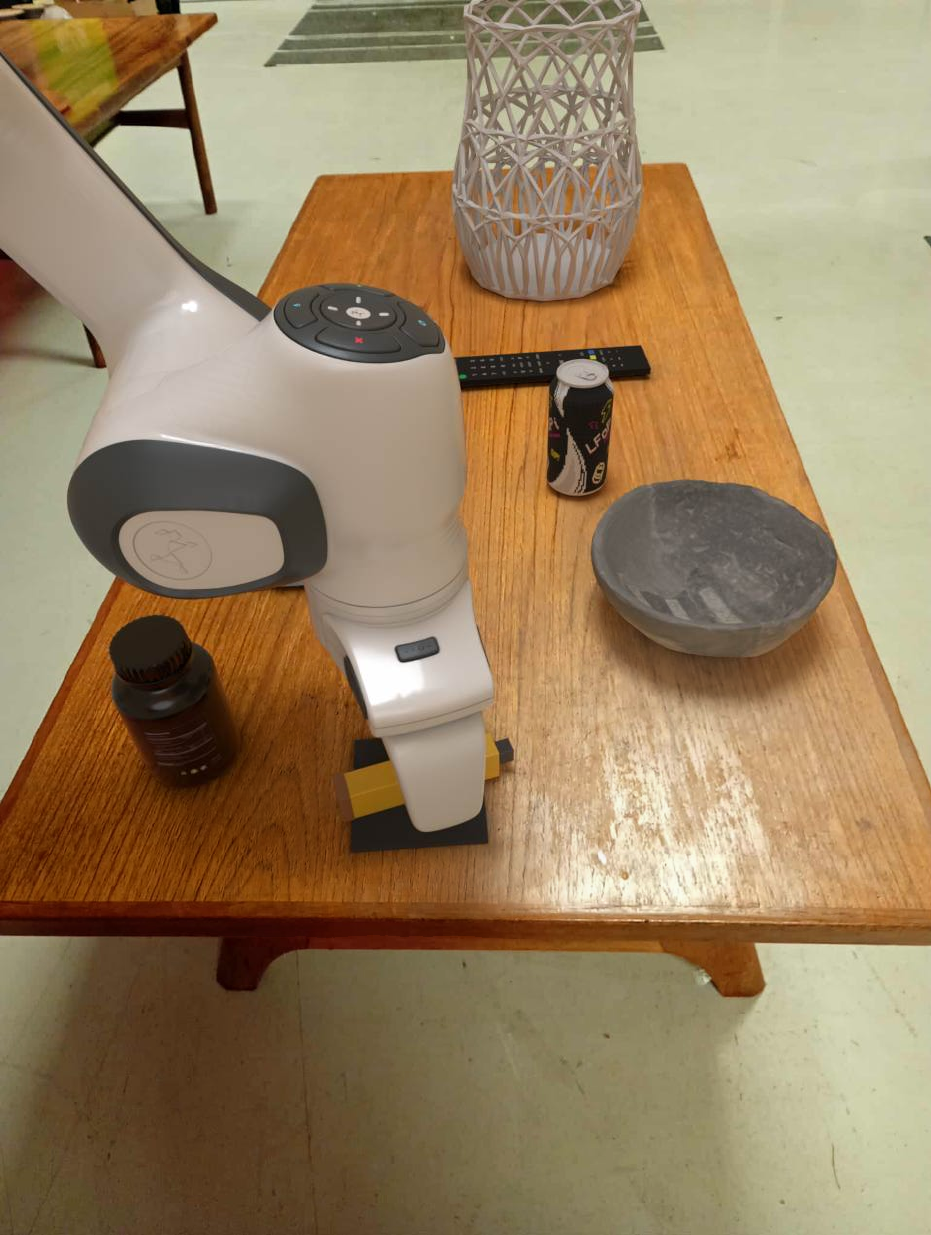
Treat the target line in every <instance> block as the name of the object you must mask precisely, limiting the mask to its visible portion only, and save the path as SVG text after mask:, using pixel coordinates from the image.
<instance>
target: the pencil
mask: <svg viewBox="0 0 931 1235" xmlns="http://www.w3.org/2000/svg"><path fill="white" fill-rule="evenodd" d="M485 734H486V766H485V781H487V780H490V779H494V778H496V777H500V765H503V764H506V763H510V762H514V760H515V749H514V747H513V745H512V743H511V741H510V739H509V737H507V738H506V737H505V738H502V739H499V740H496V741H495V740H494V739H493V736H492V734H491V732H485ZM331 779H332V784H333V788H334V792H335V796H336V800H337V804H338V807H339V811H340V812H339V813H340V815H341V819H342V822H343V823H347V822H352V820H355V818H358V817H362V816H365V815H368V814H372V813H375V812H379V811H382V810H385V809H389V808H392V807H395V806H399V805H402V804H405V803H404V800H403V797H402V794H401V791H400V788H399V785H398V782H397V779H396V776H395V773H394V770H393V767H392V764H391V761H390V760H389V761H386V762H382V763H379V764H375V765H372V766H368V767H365V768H361V769H358V770H354V771H353V770H350V771H347V772H343V771H341V772H338V773H334V774H331Z"/></svg>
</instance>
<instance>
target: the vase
mask: <svg viewBox="0 0 931 1235" xmlns="http://www.w3.org/2000/svg"><path fill="white" fill-rule="evenodd" d="M541 1H542V2H544V3H548V4H549V5H548V6H547V7H546V8H544V10H542V11H541V12H540V13H539V14H538V15H537V16H536V17H535V18H533V19H532V18H531V17H530V15H528V14H527V13H526V12H525V11H523V9H522V8H521V7H520V6H522V5H523V4H524V3H526V2H528V0H515V1H514V2H512V1H510V0H471V1H470V3H468V4H465V5H463V16H462V18H463V25H464V36H465V37H464V38H465V45H466V90H465V100H464V109H463V118H462V125H461V132H460V140H459V144H458V147H457V152H456V157H455V162H454V166H453V174H452V184H451V207H452V215H453V221H454V222H453V223H454V230H455V233H456V235H457V238H458V242H459V246H460V248H461V251H462V253H463V257H464V258H465V261H466V264H467V267H468V268H469V270H470V275H471V276H472V277H473V278H474V280H475V281H476V282H477V283H478V284H479V286H480V287H481V288H483V289H486V290H488V291H490V292H492V293H495V294H497V295H500V296H502V297H504V298H507V299H515V300H516V299H517V300H526V301H536V302H552V301H561V300H570V299H579V298H584V297H585V296H587V295H588V296H589V295H590V294H592V293H594V292H597V291H598V290H600V289H602V288H605V287H607V286H609V285H612V283H613V281H614V280H615V277H616V275H617V273H618V271H619V269H620V267H621V266H622V265H623V263H624V261H625V258H626V255H627V253H628V251H629V249H630V246H631V243H632V241H633V239H634V236H635V234H636V232H637V228H638V222H639V217H640V211H641V206H642V201H643V165H642V158H641V153H640V150H639V143H638V142H639V141H638V136H637V132H636V131H637V118H636V114H635V112H636V109H635V107H634V55H635V54H634V48H635V47H634V46H635V42H636V36H637V31H638V27H639V22H640V15H641V14H640V13H641V10H642V3H641V2H640V1H638V0H624V1H625V2H627V3H628V4H627V5H626V6H625V7H624V5H623V4H622V2H621V0H612V2H613V3H614V4H615V5H616V7H617V8H619V9H620V12H618V14H617V15H616V16H614V17H613V18H608V19H606V18H605V15H604V14H603V12H602V10H601V8H600V6H602V5H604V4H606V3H608V2H610V1H611V0H594V1H593V0H582V1H583V2H585V3H587V4H588V5H587V7H586V8H585V9H583V11H581V13H580V14H579V15H578V16H577V17H575V19H573V18H572V17H571V16H570V14H569V13H568V12H567V11H566V10H565V9H564V7H563V6H562V3H564V2H566V0H541ZM496 3H497V4H500V5H502V6H504V7H506V8H508V9H507V10H506V11H505V13H504V14H503V15H502V17H501V19H500V20H499V22H498V21H493V19H492V18H491V17H490V16H489V15H488V14H487V12H488V11H489V10H491V8H492V7H493V6H494V5H495V4H496ZM482 4H485V5H484V7H483V9H481V8H480V7H479V5H482ZM553 9H554V10H555V11H557V12H558V13H559V15H560V16H561V17H562V18H563V19H564V20H565V21H566V22H567V23H568V25H566V24H562V23H559V24H558V23H557V24H540V23H541V22H542V21H543V20H544V19H545V18H546V16H548V15H549V14H550V13H551V12H552V10H553ZM632 9H633V10H632ZM630 10H631V11H630ZM592 11H593V12H594V14H595V15H596V16H597V18H598V19H599V20H594V21H586V22H581V21H582V20H583V19H584V18H585V17H586V16H587V15H588V14H590V13H591V12H592ZM473 12H474V13H475V14H477V15H478V16H475V15H473ZM514 12H516V13H517V14H518V15H519V16H520V18H522V19H523V20H524V22H526V24H527V25H528V26H522V25H520V24H516V23H511V22H509V23H508V20H509V19H510V18H511V17H512V16H513V14H514ZM623 22H624V24H623ZM594 28H595V29H597V28H600V29H599V30H598V31H597V32H596V33H595V34H594V35H593V34H591V33H590V32H589V31H586V30H587V29H594ZM613 28H616V29H618V30H620V31H621V32H620V34H618V37H617V38H616V40H615V38H614V34H613V30H612V29H613ZM502 30H505V31H510V32H508V33H506V34H504V33H503V31H502ZM483 31H488V32H489V33H490V35H491V38H490V40H489V44H488V47H487V50H486V48H485V47H484V44H483V43H482V42H481V40H480V38H479V34H480V33H482V32H483ZM544 32H545V33H546V32H549V33H550V32H551V33H553V32H554V33H555V34H554V35H551V36H550V37H548V38H547V37H545V36H544V34H543V33H544ZM557 32H558V33H557ZM571 33H572V34H575V37H576V38H577V40H578V41H579V44H580V46H581V47H580V48H578V49H577V51H576V52H575V53H574V54H573V55H572V56H571V57H569V56H568V55H567V54H566V53H565V52H563V51H562V49H561V47H562V45H563V44H564V43H565V42H566V39H567V38H568V37H569V35H571ZM522 35H523V37H522V38H521V39H520V40H521V41H520V42H519V43H518V46H517V48H515V46H514V45H513V44H512V43H511V42H510V41H511V40H513V39H515V38H517V37H519V36H522ZM529 37H531V38H534V39H536V40H538V41H540V44H539V45H538V46H537V47H536V48H535V49H534V50H532V52H531V53H530V54H528V55H527V56H526V57H525V58H524V57H523V56H522V54H520V53H521V51H522V49H523V48H524V46H525V44H526V42H527V40H528V39H529ZM606 37H608V41H609V44H610V50H609V49H608V48H607V47H606V46H605V45H604V44H603V42H604V41H605V39H606ZM623 39H625V40H624V43H623V46H622V49H621V52H620V54H619V51H618V48H619V47H620V45H621V43H622V41H623ZM555 42H557V43H556V44H555ZM592 45H593V47H592V48H591V50H590V47H591V46H592ZM502 47H504V49H505V50H506V52H507V54H508V55H509V58H510V61H509V62H508V65H507V68H506V70H505V72H504V75H503V78H502V80H501V79H500V77H499V75H498V72H497V70H496V67H495V65H494V63H493V60H492V58H493V57H495V55H497V53H498V52H499V51H500V50H501V49H502ZM599 50H600V51H601V52H602V53H603V55H605V59H604V60H603V62H602V63H601V66H600V68H599V69H598V68H597V64H596V62H595V56H596V54H597V53H598V51H599ZM544 51H546V52H547V54H548V55H549V56H548V58H547V59H546V62H545V64H544V66H543V68H542V70H541V72H540V74H539V76H538V78H537V77H536V75H535V74H534V72H533V71H532V69H531V67H530V66H529V64H530V63H531V62H532V61H534V59H536V58H537V57H538V56H539V55H540V54H541V53H543V52H544ZM584 53H585V54H586V56H587V58H586V60H585V63H584V65H583V68H582V69H581V72H579V71H578V69H577V67H576V65H575V64H574V62H575V61H576V60H577V59H578V58H580V57H581V55H583V54H584ZM475 55H476V56H477V58H478V61H479V63H480V70H479V71H478V72H479V73H478V72H477V67H476V60H475V57H476V56H475ZM557 57H558V58H559V59H560V60H561V61H562V62H563V63H564V66H563V67H562V68H561V65H560V63H559V61H558V59H557ZM613 58H614V61H613ZM614 62H615V63H614ZM552 63H553V66H554V68H555V70H556V73H557V76H556V78H555V80H554V81H553V83H552V84H543V81H544V79H545V77H546V75H547V73H548V71H549V69H550V67H551V64H552ZM590 66H591V69H592V73H593V75H594V79H593V81H592V83H591V85H590V87H589V86H588V85H587V83H586V80H584V78H585V77H586V75H587V72H588V69H589V67H590ZM608 66H609V69H610V71H611V74H612V76H613V77H612V79H611V80H612V81H611V84H610V87H609V90H608V91H605V89H604V86H603V84H602V80H601V79H602V78H603V76H604V74H605V72H606V70H607V69H608ZM513 67H514V69H515V72H514V74H513V75H512V77H511V79H510V80H509V82H508V78H509V76H510V74H511V72H512V69H513ZM488 68H489V70H488ZM489 71H490V73H491V75H492V78H493V80H494V82H495V85H496V87H497V91H496V92H495V93H494V91H493V86H492V83H491V78H490V75H489ZM524 71H525V72H526V73H527V75H528V77H529V78H530V79H531V81H532V83H533V85H534V86H532V87H529V85H528V83H527V80H526V78H525V76H524ZM569 71H570V72H571V74H572V76H573V78H574V79H575V81H576V83H575V85H574V86H571V85H570V86H569V84H568V81H567V79H566V77H565V76H566V75H567V73H568V72H569ZM626 75H627V83H626V79H625V78H626ZM483 79H484V81H485V85H486V89H487V94H484V95H482V96H481V90H480V89H481V86H482V82H483ZM518 81H520V84H521V86H516V87H515V85H516V83H517V82H518ZM507 82H508V83H507ZM506 84H507V85H506ZM615 89H616V91H615ZM510 95H512V96H510ZM537 95H539V96H541V98H540V100H538V101H537V102H535V101H536V98H537ZM565 95H566V98H567V102H565V101H564V100H562V99H561V98H559V97H560V96H565ZM524 96H525V100H526V104H525V103H524V102H522V101H520V98H522V97H524ZM578 96H579V97H581V98H583V99H582V100H581V101H578V102H577V98H578ZM601 99H602V100H603V105H604V106H603V105H602V104H601V103H600V102H599V100H601ZM551 100H553V101H554V102H555V103H557V104H558V105H559V106H560V107H562V108H564V109H565V110H566V113H565V114H564V115H563V117H562V118H561V119H560V121H559V120H558V118H557V115H556V113H555V110H554V107H553V105H552V102H551ZM576 102H577V103H576ZM511 104H513V105H514V106H516V107H518V108H520V109H521V110H523V111H525V112H524V114H523V115H522V117H521V118H520V119H519V121H518V122H517V123H516V120H515V117H514V114H513V111H512V107H511ZM612 104H613V105H612ZM488 105H489V108H490V110H488V109H487V108H486V107H487V106H488ZM589 105H590V108H591V110H592V112H593V114H594V117H595V119H596V121H597V124H598V127H597V128H596V129H590V130H589V128H588V126H587V125H586V123H585V122H584V118H585V115H586V112H587V109H588V107H589ZM611 108H612V109H611ZM579 109H580V111H579V112H578V110H579ZM503 110H505V111H506V115H507V118H508V122H509V125H510V128H511V131H507V130H505V129H504V128H503V126H502V125H501V123H500V122H499V120H498V117H499V115H500V113H501V112H502V111H503ZM536 110H537V111H536ZM545 110H546V111H547V113H548V115H549V117H550V120H551V122H552V124H553V126H554V128H553V129H552V130H551V131H550V130H549V128H548V127H547V126H546V124H545V123H544V122H543V120H542V117H543V114H544V112H545ZM598 110H599V111H600V113H602V114H603V115H604V117H603V119H602V118H601V115H600V113H599V111H598ZM619 112H620V114H621V115H622V117H623V118H621V119H620V120H618V121H616V119H617V115H618V113H619ZM484 116H485V117H487V120H486V122H485V123H484ZM531 116H532V121H531V123H530V125H529V127H528V129H527V131H526V133H525V134H524V130H525V127H526V124H527V121H528V119H529V117H531ZM572 116H573V118H574V120H575V126H574V128H573V131H572V134H567V133H568V132H567V131H568V129H569V128H568V127H569V124H570V120H571V117H572ZM477 119H478V122H477V121H476V120H477ZM620 127H622V128H621V129H619V128H620ZM473 128H474V129H475V130H474V129H473ZM540 128H541V130H542V131H543V134H542V133H541V132H540V131H541V130H540ZM499 137H500V138H501V137H502V139H503V140H500V138H499ZM585 138H587V139H585ZM600 139H601V140H600ZM489 140H491V141H493V142H494V144H493V145H491V146H490V147H488V148H487V145H488V143H489ZM542 141H545V142H544V144H543V142H542ZM598 141H600V145H598V144H597V142H598ZM613 142H614V143H613ZM575 144H577V145H581V147H580V148H579V149H578V150H574V146H575ZM512 145H514V147H513V146H512ZM529 146H532V147H535V148H536V149H531V150H527V149H528V148H529ZM592 150H593V151H592ZM494 152H495V154H494V155H492V154H493V153H494ZM490 155H491V156H490ZM487 156H488V157H487ZM486 157H487V158H486ZM535 158H538V159H537V160H536V162H535V163H534V164H533V165H532V166H531V167H530V168H528V167H527V165H526V164H528V163H529V162H532V160H534V159H535ZM579 159H582V163H581V165H580V166H578V167H577V168H576V166H575V165H574V164H575V163H576V162H577V161H578V160H579ZM548 162H551V163H554V165H553V172H552V178H551V183H550V184H549V185H547V174H546V173H547V172H546V164H545V163H548ZM489 164H495V165H494V167H493V169H492V171H491V169H490V167H489ZM506 165H507V166H510V170H509V172H507V174H506V176H505V177H504V173H503V168H504V167H505V166H506ZM591 165H594V166H595V167H597V170H596V174H595V178H594V182H593V186H592V189H591V187H590V166H591ZM610 169H611V172H612V175H613V177H612V178H611V177H610V176H609V172H610ZM480 171H481V172H480ZM534 172H535V173H534ZM533 173H534V176H533V175H532V174H533ZM540 174H541V181H542V182H541V183H542V190H541V188H540V187H539V185H538V183H539V178H540ZM566 174H567V178H566ZM565 178H566V179H565ZM571 182H572V186H573V191H574V194H573V198H572V205H571V210H570V214H568V215H567V214H565V211H566V191H567V189H568V187H569V186H570V183H571ZM498 183H499V185H498ZM515 184H516V187H517V188H516V189H517V209H518V210H517V211H518V213H516V212H515V213H514V208H513V202H514V201H513V200H514V186H515ZM613 184H614V185H613ZM506 186H507V188H506ZM581 187H583V189H584V200H583V196H582V191H581ZM599 188H600V198H599V200H598V198H597V194H598V189H599ZM472 191H473V193H472ZM488 192H489V193H490V194H491V195H492V196H491V197H492V198H491V199H490V202H488V201H489V200H488ZM524 193H525V194H524ZM472 194H473V195H472ZM608 194H609V200H610V203H609V205H606V197H607V195H608ZM499 195H501V200H502V205H501V202H500V199H499ZM479 199H480V202H481V205H480V204H479ZM538 199H539V202H538ZM616 199H617V202H616ZM525 202H526V203H525ZM526 207H527V211H526ZM542 211H543V213H541V212H542ZM470 213H471V214H470ZM557 213H558V214H557ZM471 216H472V217H471ZM604 217H605V218H604ZM515 219H517V220H520V221H519V222H520V226H521V232H522V233H521V234H519V235H515V224H514V223H515V222H514V220H515ZM505 221H506V223H505ZM567 221H569V222H568V228H567V229H566V230H565V222H567ZM576 221H580V223H579V226H578V227H577V228H575V230H574V231H573V229H574V224H575V223H576ZM493 224H494V225H495V228H496V233H497V234H496V235H497V236H495V234H494V231H493V226H492V225H493ZM528 224H529V225H528ZM556 224H558V229H557V227H556ZM591 224H593V230H592V234H591V237H590V238H588V237H587V236H588V233H587V231H588V230H587V229H588V226H590V225H591ZM506 225H507V226H506ZM610 225H611V226H610ZM542 229H543V230H544V232H543V233H542V232H537V231H540V230H542ZM572 231H573V232H572ZM607 232H608V234H607ZM606 234H607V235H606ZM486 242H487V243H486Z"/></svg>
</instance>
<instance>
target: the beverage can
mask: <svg viewBox="0 0 931 1235" xmlns="http://www.w3.org/2000/svg"><path fill="white" fill-rule="evenodd" d="M608 376H609V371H608V369H607V368H606V366H604V365H603V364H601V363H599V362H597V361H593V360H587V359H577V360H571V361H567V362H565V363H563V364H562V365H560V366H559V367H558V369H557V375H556V376H555V378H554V379H553V380H552V381H550V384H549V388H548V410H547V412H548V415H547V441H546V442H547V444H546V445H547V448H546V474H545V476H546V477H545V478H546V481H547V483H548V485H549V486H550V487H551V488H552V489H554V490H555V491H556V492H559V493H560V494H564V495H566V496H572V497H583V496H586V495H591V494H593V493H596V492H597V491H599V490H601V489H602V488H603V487H604V486H605V484H606V481H607V475H608V464H609V454H610V444H611V431H612V421H613V420H612V419H613V411H614V410H613V408H614V400H615V399H614V398H615V386H614V382H613V381H612V379H610V378H611V377H608Z"/></svg>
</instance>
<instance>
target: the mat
mask: <svg viewBox="0 0 931 1235" xmlns="http://www.w3.org/2000/svg"><path fill="white" fill-rule="evenodd" d="M353 747H354V748H353V768H352V769H353V770H352V771H354V770H358V769H361V768H365V767H368V766H372V765H375V764H379V763H382V762H386V761H389V760H390V759H389V756H388V753H387V751H386V748H385V746H384V743H383V741H382V738H381V737H380V738H376V737H375V738H364V739H354V744H353ZM485 798H486V797H485V793H484V794H483V802H482V807H481V810H480V812H479V813H478V814H477V815H476V816H475V817H474V818H472V819H470V820H468V821H465V822H463V823H460V824H457V825H454V826H451V827H448V828H444V829H440V830H436V831H431V832H423V831H419V830H418V829H416V828H415V827H414V825H413V823H412V821H411V819H410V817H409V814H408V811H407V809H406V806H405V804H402V805H399V806H395V807H392V808H389V809H385V810H382V811H379V812H375V813H372V814H368V815H365V816H362V817H358V818H355V820H351V821H350V822H351V826H350V854H357V853H358V854H359V853H371V852H383V851H384V852H385V851H399V850H412V849H427V848H441V847H454V846H466V845H467V846H468V845H481V844H482V845H483V844H489V834H488V822H487V810H486V809H487V808H486V799H485Z"/></svg>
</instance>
